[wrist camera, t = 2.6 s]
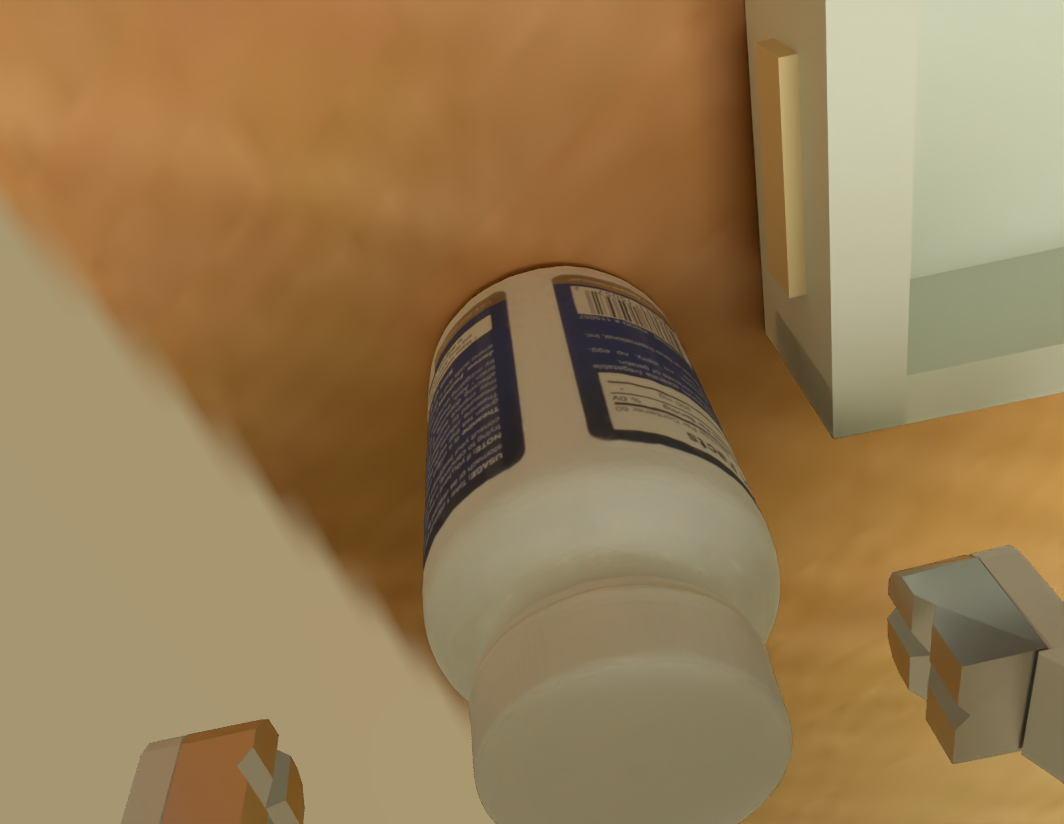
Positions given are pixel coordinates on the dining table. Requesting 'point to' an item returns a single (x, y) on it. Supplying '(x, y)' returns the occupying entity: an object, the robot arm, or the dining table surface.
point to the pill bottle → (596, 564)
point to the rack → (910, 202)
